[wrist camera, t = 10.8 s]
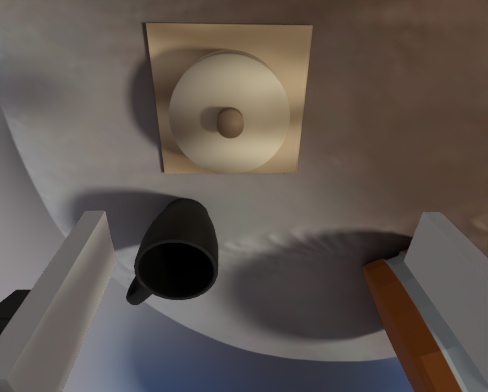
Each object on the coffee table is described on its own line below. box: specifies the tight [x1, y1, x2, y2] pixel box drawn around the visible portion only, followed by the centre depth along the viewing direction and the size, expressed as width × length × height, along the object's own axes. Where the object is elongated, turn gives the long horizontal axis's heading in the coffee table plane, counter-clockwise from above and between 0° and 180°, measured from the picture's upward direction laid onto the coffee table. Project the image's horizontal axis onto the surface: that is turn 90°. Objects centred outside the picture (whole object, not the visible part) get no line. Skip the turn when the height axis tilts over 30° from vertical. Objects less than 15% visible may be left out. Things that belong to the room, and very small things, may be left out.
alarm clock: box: [362, 249, 488, 392], centre depth 38 cm, size 22×10×23 cm, turn 25°
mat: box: [146, 23, 313, 174], centre depth 33 cm, size 15×15×1 cm
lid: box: [169, 49, 290, 174], centre depth 30 cm, size 11×11×6 cm
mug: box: [126, 199, 218, 305], centre depth 36 cm, size 8×12×10 cm
